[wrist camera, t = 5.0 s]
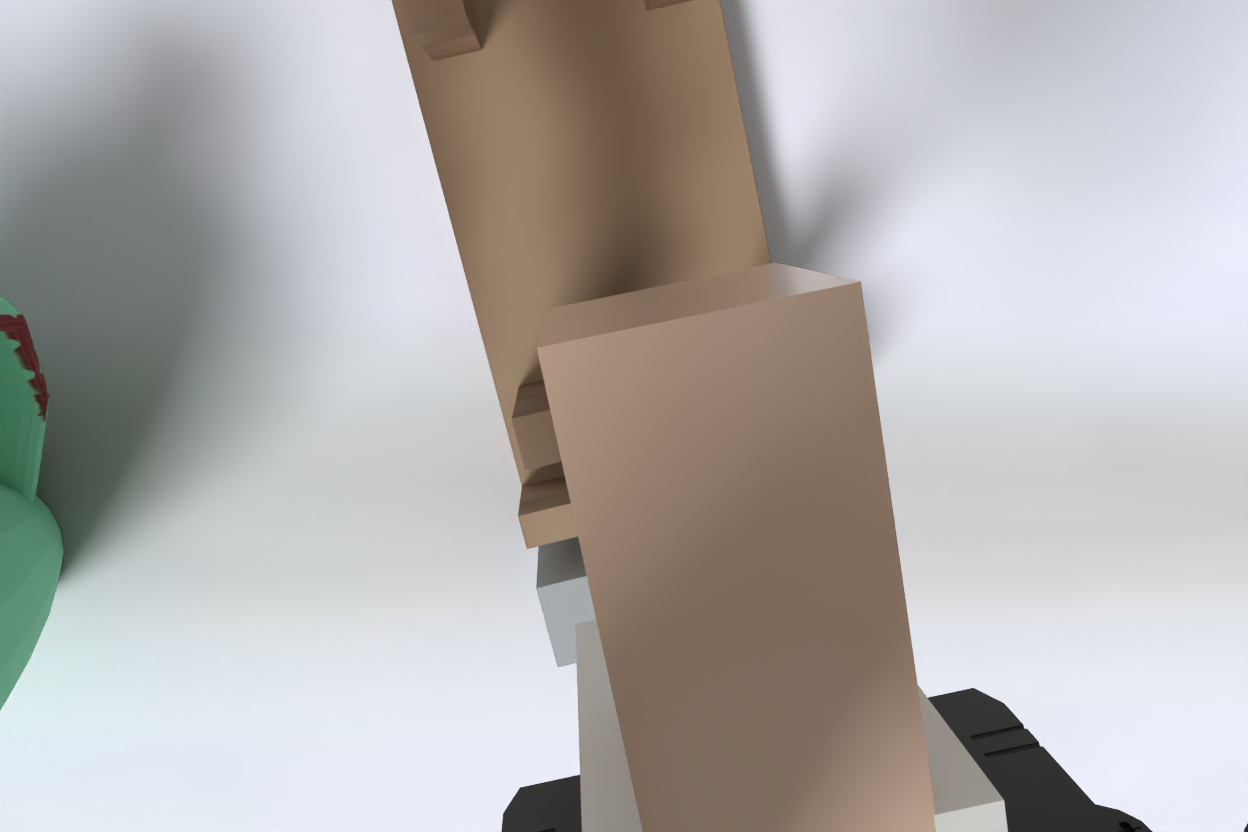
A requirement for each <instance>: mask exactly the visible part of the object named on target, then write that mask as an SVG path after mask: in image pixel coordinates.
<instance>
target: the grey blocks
mask: <svg viewBox="0 0 1248 832" xmlns="http://www.w3.org/2000/svg"><path fill="white" fill-rule="evenodd" d="M536 589H537V592H538V596H539V600H540V603H541V607H542V611H543V614H544V618H545V622H546V626H547V629H548V633H549V637H550V640H551V644H552V648H553V651H554V655H555V659H556V662H557V666H558V667H561V666H565V665H569V664H573V663H577V653H576V624H578V623H583V622H588V621H592V620H596V616H595V612H594V607H593V602H592V598H591V593H590V589H589V584H588V580H587V575H586V571H585V566H584V561H583V557H582V552H581V548H580V543H579V539H578V537H574V538H569V539H565V540H561V541H557V542H553V543H549V544H545V545H541V546H539V551H538V569H537V587H536Z"/></svg>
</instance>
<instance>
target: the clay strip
mask: <svg viewBox="0 0 1248 832" xmlns="http://www.w3.org/2000/svg"><path fill="white" fill-rule="evenodd" d="M537 352H538V356H539V361H540V365H541V370H542V374H543V379H544V384H545V388H546V393H547V397H548V402H549V406H550V411H551V415H552V420H553V425H554V429H555V434H556V438H557V443H558V447H559V452H560V457H561V461H562V466H563V470H564V475H565V479H566V484H567V488H568V493H569V498H570V502H571V507H572V511H573V516H574V520H575V525H576V530H577V534H578V539H579V543H580V548H581V552H582V557H583V561H584V566H585V571H586V575H587V580H588V584H589V589H590V593H591V598H592V602H593V607H594V612H595V616H596V621H597V625H598V630H599V634H600V639H601V644H602V648H603V653H604V657H605V662H606V666H607V671H608V675H609V680H610V685H611V689H612V694H613V698H614V703H615V707H616V712H617V717H618V721H619V726H620V730H621V735H622V739H623V744H624V748H625V753H626V758H627V762H628V767H629V771H630V776H631V780H632V785H633V790H634V794H635V799H636V803H637V808H638V812H639V817H640V821H641V826H642V831H643V832H936V828H935V821H934V815H936V813H935V806H934V799H933V792H932V785H931V778H930V771H929V764H928V757H927V749H926V742H925V735H924V728H923V721H922V714H921V707H920V700H919V693H918V686H917V678H916V671H915V664H914V657H913V650H912V643H911V636H910V629H909V622H908V615H907V608H906V600H905V593H904V586H903V579H902V572H901V565H900V558H899V551H898V544H897V537H896V530H895V522H894V515H893V508H892V501H891V494H890V487H889V480H888V473H887V466H886V459H885V451H884V444H883V437H882V430H881V423H880V416H879V409H878V402H877V395H876V388H875V381H874V373H873V366H872V359H871V352H870V345H869V338H868V331H867V324H866V317H865V310H864V302H863V295H862V288H861V282H860V281H856V280H851V279H847V278H843V277H838V276H834V275H829V274H825V273H820V272H816V271H812V270H807V269H803V268H798V267H794V266H790V265H785V264H781V263H771V264H766V265H761V266H756V267H751V268H746V269H742V270H737V271H732V272H727V273H722V274H717V275H712V276H707V277H702V278H697V279H692V280H688V281H683V282H678V283H673V284H668V285H663V286H658V287H653V288H648V289H643V290H639V291H634V292H629V293H624V294H619V295H614V296H609V297H604V298H599V299H594V300H589V301H585V302H580V303H575V304H570V305H565V306H560V307H555V308H550V309H545V310H544V314H543V319H542V324H541V329H540V334H539V339H538V344H537Z"/></svg>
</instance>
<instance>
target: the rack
mask: <svg viewBox="0 0 1248 832" xmlns="http://www.w3.org/2000/svg"><path fill="white" fill-rule="evenodd" d="M392 4H393V7H394V11H395V15H396V18H397V22H398V26H399V30H400V33H401V37H402V41H403V45H404V48H405V52H406V56H407V59H408V63H409V67H410V71H411V74H412V78H413V82H414V86H415V89H416V93H417V97H418V100H419V104H420V108H421V112H422V115H423V119H424V123H425V127H426V130H427V134H428V138H429V141H430V145H431V149H432V153H433V156H434V160H435V164H436V168H437V171H438V175H439V179H440V182H441V186H442V190H443V194H444V197H445V201H446V205H447V209H448V212H449V216H450V220H451V223H452V227H453V231H454V235H455V238H456V242H457V246H458V250H459V253H460V257H461V261H462V264H463V268H464V272H465V276H466V279H467V283H468V287H469V291H470V294H471V298H472V302H473V305H474V309H475V313H476V317H477V320H478V324H479V328H480V332H481V335H482V339H483V343H484V346H485V350H486V354H487V358H488V361H489V365H490V369H491V372H492V376H493V380H494V384H495V387H496V391H497V395H498V399H499V402H500V406H501V410H502V413H503V417H504V421H505V425H506V428H507V432H508V436H509V440H510V443H511V447H512V451H513V454H514V458H515V462H516V466H517V469H518V473H519V477H520V481H521V484H522V491H521V498H520V506H519V514H518V517H519V521H520V525H521V529H522V532H523V536H524V540H525V543H526V547H527V549H529V548H533V547H537V546H541V545H545V544H549V543H553V542H557V541H561V540H565V539H569V538H574V537H578V534H577V530H576V525H575V520H574V516H573V511H572V507H571V502H570V498H569V493H568V488H567V484H566V479H565V475H564V470H563V466H562V461H561V457H560V452H559V447H558V443H557V438H556V434H555V429H554V425H553V420H552V415H551V411H550V406H549V402H548V397H547V393H546V388H545V384H544V379H543V374H542V370H541V365H540V361H539V356H538V352H537V344H538V339H539V334H540V329H541V324H542V319H543V314H544V310H545V309H550V308H555V307H560V306H565V305H570V304H575V303H580V302H585V301H589V300H594V299H599V298H604V297H609V296H614V295H619V294H624V293H629V292H634V291H639V290H643V289H648V288H653V287H658V286H663V285H668V284H673V283H678V282H683V281H688V280H692V279H697V278H702V277H707V276H712V275H717V274H722V273H727V272H732V271H737V270H742V269H746V268H751V267H756V266H761V265H766V264H771V260H770V255H769V250H768V245H767V240H766V235H765V229H764V224H763V219H762V214H761V209H760V204H759V199H758V194H757V189H756V184H755V179H754V173H753V168H752V163H751V158H750V153H749V148H748V143H747V138H746V133H745V128H744V122H743V117H742V112H741V107H740V102H739V97H738V92H737V87H736V82H735V77H734V72H733V66H732V61H731V56H730V51H729V46H728V41H727V36H726V31H725V26H724V21H723V15H722V10H721V5H720V0H392Z"/></svg>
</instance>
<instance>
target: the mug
mask: <svg viewBox="0 0 1248 832" xmlns="http://www.w3.org/2000/svg"><path fill="white" fill-rule="evenodd" d="M49 398H50V395H49V392H48V389H47V386H46V383H45V379H44V376H43V373H42V370H41V367H40V364H39V361H38V357H37V354H36V351H35V348H34V345H33V342H32V339H31V336H30V332H29V329H28V326H27V323H26V320H25V318H24V316H23V315H22V314H21V313H20V312H19V311H18V310H17V309H16V308H15V307H14V306H13V305H12V304H11V303H10V302H9V301H8V300H6V299H5V298H3V297H1V296H0V710H1V708H2V707H3V705H4V703H5V702H6V700H7V698H8V697H9V695H10V693H11V691H12V690H13V688H14V686H15V684H16V682H17V681H18V679H19V677H20V675H21V673H22V672H23V670H24V668H25V666H26V665H27V663H28V661H29V659H30V657H31V655H32V653H33V650H34V648H35V646H36V643H37V641H38V639H39V636H40V634H41V632H42V630H43V627H44V625H45V623H46V620H47V618H48V616H49V613H50V610H51V606H52V602H53V598H54V594H55V591H56V587H57V583H58V579H59V575H60V571H61V565H62V560H63V555H64V548H63V542H62V536H61V530H60V527H59V525H58V524H57V522H56V520H55V518H54V516H53V514H52V512H51V510H50V508H49V507H48V506H47V505H46V504H45V503H44V502H43V501H42V500H41V499H40V498H39V497H38V496H37V495H36V492H37V485H38V478H39V471H40V463H41V456H42V449H43V442H44V434H45V427H46V420H47V412H48V405H49Z"/></svg>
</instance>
